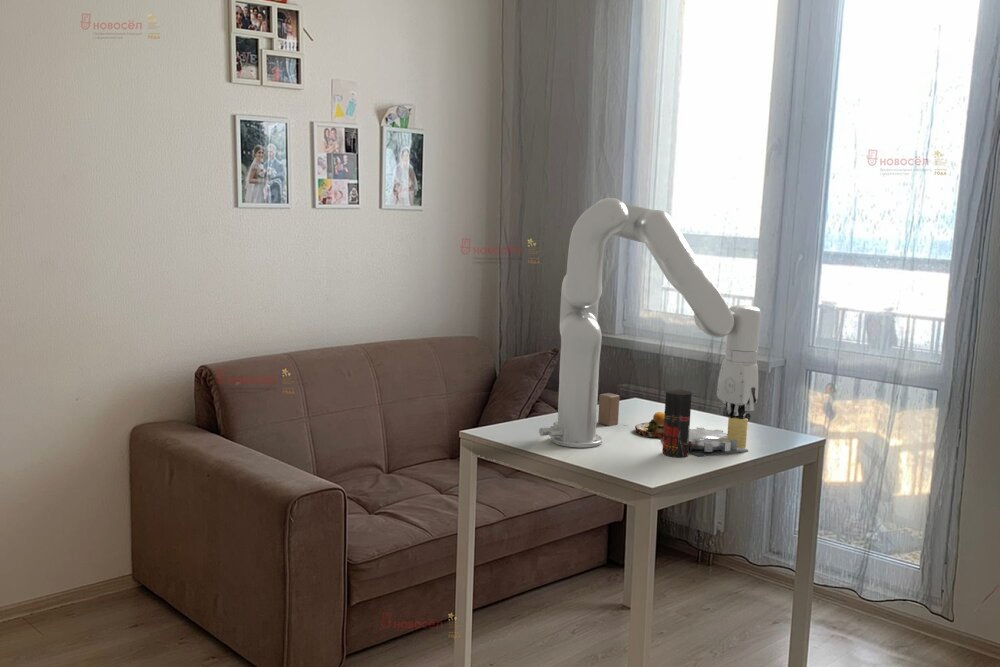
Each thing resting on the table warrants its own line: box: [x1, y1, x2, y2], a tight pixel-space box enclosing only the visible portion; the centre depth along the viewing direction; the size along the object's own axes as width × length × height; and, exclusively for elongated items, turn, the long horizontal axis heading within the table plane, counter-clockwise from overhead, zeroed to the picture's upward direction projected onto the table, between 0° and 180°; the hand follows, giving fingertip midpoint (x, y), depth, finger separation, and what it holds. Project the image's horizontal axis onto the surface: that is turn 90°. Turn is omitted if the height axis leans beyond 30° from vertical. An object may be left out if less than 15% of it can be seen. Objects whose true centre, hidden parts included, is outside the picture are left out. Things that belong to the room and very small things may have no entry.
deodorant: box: [661, 389, 693, 459], centre depth 217 cm, size 6×6×15 cm
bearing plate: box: [660, 439, 749, 458], centre depth 226 cm, size 16×15×1 cm
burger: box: [634, 411, 665, 440], centre depth 238 cm, size 12×12×8 cm
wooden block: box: [597, 392, 620, 427], centre depth 246 cm, size 4×4×8 cm
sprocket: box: [688, 416, 749, 452], centre depth 225 cm, size 18×16×7 cm
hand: (734, 430), depth 226 cm, fingers closed
